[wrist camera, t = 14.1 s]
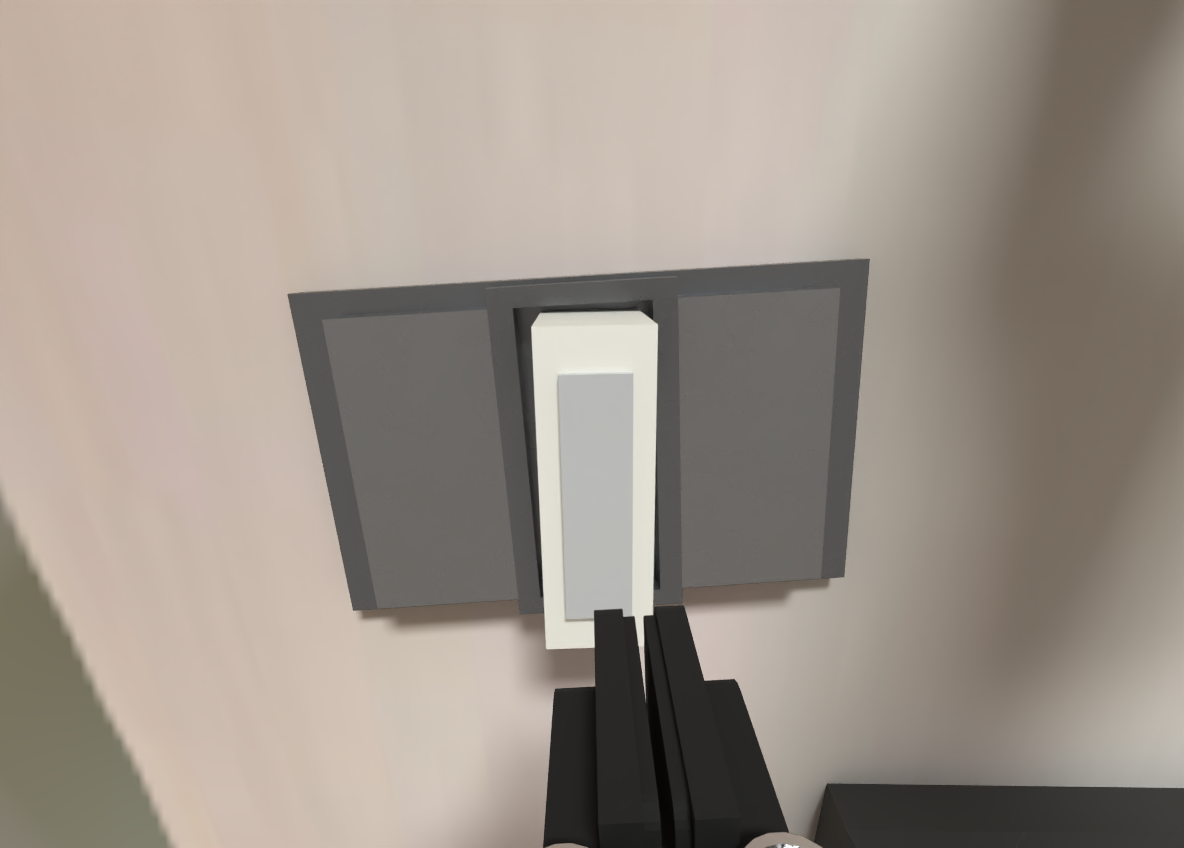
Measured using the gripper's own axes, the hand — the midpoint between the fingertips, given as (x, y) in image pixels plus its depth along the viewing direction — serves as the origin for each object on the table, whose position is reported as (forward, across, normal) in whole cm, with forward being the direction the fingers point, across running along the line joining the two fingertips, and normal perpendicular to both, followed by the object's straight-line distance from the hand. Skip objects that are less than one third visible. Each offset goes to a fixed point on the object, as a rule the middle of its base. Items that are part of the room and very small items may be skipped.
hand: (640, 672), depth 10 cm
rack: (+16, +1, +1) cm, 16 cm away
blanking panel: (+15, +1, +1) cm, 15 cm away
